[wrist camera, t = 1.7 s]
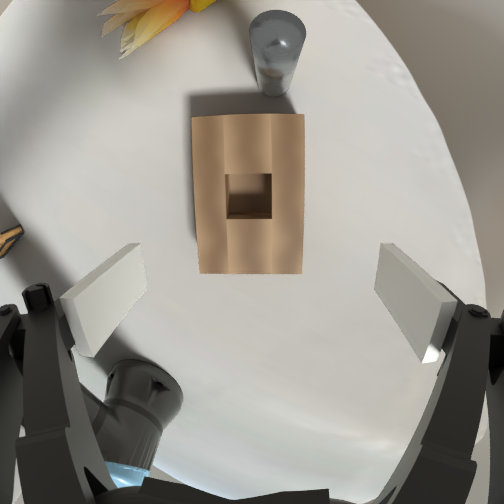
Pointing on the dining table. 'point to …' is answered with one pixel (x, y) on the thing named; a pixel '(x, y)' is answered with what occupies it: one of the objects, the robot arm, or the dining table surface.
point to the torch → (146, 18)
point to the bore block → (249, 192)
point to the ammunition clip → (9, 239)
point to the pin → (276, 49)
